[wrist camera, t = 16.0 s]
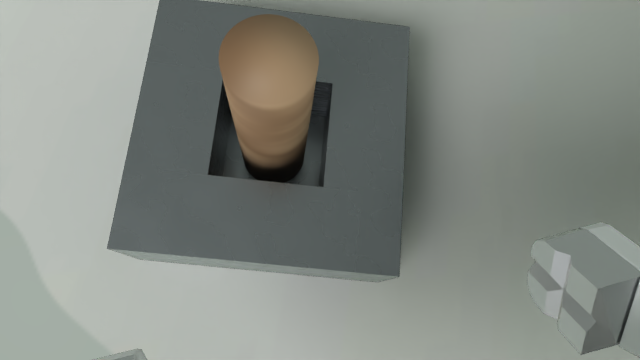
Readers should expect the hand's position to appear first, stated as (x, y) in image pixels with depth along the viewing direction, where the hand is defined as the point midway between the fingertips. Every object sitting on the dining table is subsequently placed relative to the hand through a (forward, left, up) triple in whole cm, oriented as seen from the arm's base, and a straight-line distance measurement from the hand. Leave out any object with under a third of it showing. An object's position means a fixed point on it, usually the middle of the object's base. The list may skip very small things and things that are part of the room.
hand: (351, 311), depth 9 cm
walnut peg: (+3, -8, -14) cm, 16 cm away
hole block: (+3, -8, -14) cm, 16 cm away
